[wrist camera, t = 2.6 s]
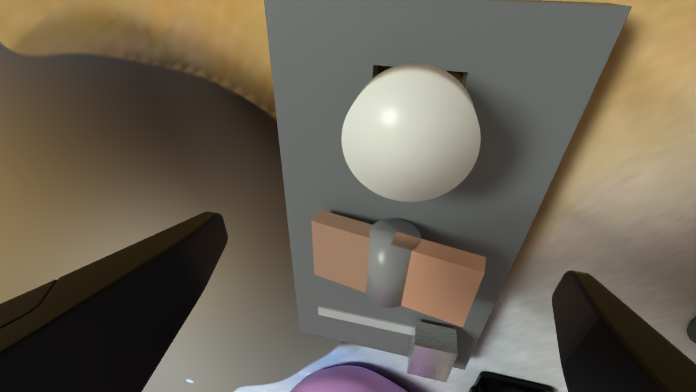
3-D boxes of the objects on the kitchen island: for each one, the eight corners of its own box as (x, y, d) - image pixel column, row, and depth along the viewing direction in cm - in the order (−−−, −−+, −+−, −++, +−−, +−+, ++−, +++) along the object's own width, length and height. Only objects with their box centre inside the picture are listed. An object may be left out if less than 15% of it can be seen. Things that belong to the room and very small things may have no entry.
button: (485, 58, 14) (499, 82, 11) (457, 168, 17) (462, 210, 14) (362, 50, 15) (342, 69, 12) (357, 155, 18) (340, 192, 15)
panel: (608, 3, 14) (633, 7, 12) (463, 348, 29) (464, 371, 27) (280, -10, 16) (261, -9, 14) (306, 313, 32) (299, 332, 30)
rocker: (487, 243, 18) (483, 281, 16) (467, 296, 21) (461, 336, 19) (328, 199, 21) (306, 226, 19) (329, 251, 24) (310, 280, 22)
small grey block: (456, 329, 24) (457, 354, 22) (445, 357, 26) (446, 382, 25) (415, 320, 24) (414, 344, 23) (408, 349, 27) (407, 373, 25)
